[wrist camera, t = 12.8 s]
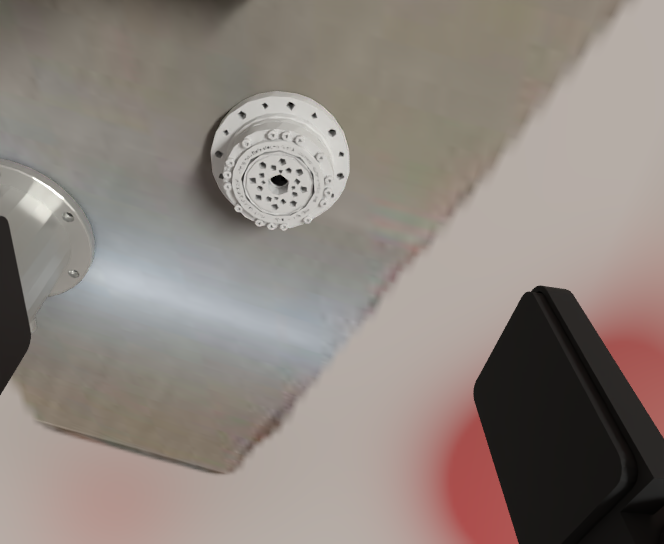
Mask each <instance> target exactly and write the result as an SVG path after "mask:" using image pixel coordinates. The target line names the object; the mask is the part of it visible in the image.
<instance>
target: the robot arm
mask: <svg viewBox="0 0 664 544" xmlns="http://www.w3.org/2000/svg"><path fill="white" fill-rule="evenodd" d="M94 253H95V239H94V234H93V231H92V228H91V225H90V223H89V221H88V219H87V217H86V215H85V213H84V212H83V210H82V209H81V208H80V206H79V205H78V204H77V202H76V201H75V200H74V199H73V198H72V197H71V196H70V195H69V194H68V193H67V192H66V191H65V190H64V189H63V188H62V187H61V186H59V185H58V184H56V183H55V182H54V181H52V180H51V179H49V178H48V177H47V176H45V175H43V174H41V173H39V172H37V171H35V170H33V169H31V168H30V167H27V166H24V165H21V164H19V163H16V162H13V161H9V160H5V159H0V395H1V393H2V391H3V390H4V388H5V386H6V385H7V383H8V381H9V380H10V378H11V377H12V375H13V373H14V372H15V370H16V368H17V367H18V365H19V363H20V362H21V360H22V358H23V357H24V355H25V353H26V352H27V350H28V347H29V344H30V339H31V333H33V332H34V331H35V330H36V329H37V325H36V319H35V315H36V314H37V312H38V311H39V309H40V308H41V306H42V304H43V303H44V301H45V300H46V298H47V297H51V296H54V295H58V294H61V293H64V292H66V291H68V290H69V289H71V288H73V287H74V286H76V285H77V284H78V283H79V282H80V281H81V280H82V279H83V277H84V276H85V275H86V273H87V272H88V270H89V268H90V266H91V264H92V262H93V258H94ZM474 401H475V404H476V407H477V411H478V414H479V417H480V420H481V423H482V427H483V430H484V433H485V436H486V440H487V443H488V446H489V449H490V452H491V455H492V459H493V462H494V465H495V469H496V472H497V475H498V478H499V481H500V485H501V488H502V491H503V494H504V497H505V501H506V503H507V507H508V510H509V513H510V517H511V520H512V523H513V526H514V529H515V533H516V536H517V539H518V542H519V544H664V438H663V437H662V435H661V434H660V432H659V430H658V429H657V427H656V426H655V424H654V422H653V421H652V419H651V418H650V416H649V414H648V413H647V412H646V410H645V408H644V407H643V405H642V403H641V402H640V400H639V399H638V397H637V395H636V394H635V392H634V391H633V389H632V387H631V386H630V384H629V383H628V381H627V380H626V378H625V376H624V375H623V373H622V372H621V370H620V369H619V367H618V365H617V364H616V362H615V360H614V359H613V358H612V356H611V354H610V353H609V351H608V349H607V348H606V346H605V345H604V343H603V341H602V340H601V338H600V337H599V335H598V334H597V332H596V331H595V329H594V327H593V326H592V324H591V322H590V321H589V319H588V318H587V316H586V314H585V313H584V311H583V310H582V308H581V306H580V305H579V303H578V302H577V300H576V299H575V297H574V295H573V294H572V293H571V292H570V291H569V290H566V289H560V288H553V287H546V286H537V287H535V288H534V289H533V290H532V291H531V292H526V293H525V294H524V295H523V296H522V298H521V300H520V301H519V303H518V305H517V307H516V309H515V311H514V312H513V314H512V316H511V318H510V320H509V322H508V323H507V326H506V327H505V329H504V331H503V333H502V335H501V336H500V338H499V340H498V342H497V344H496V346H495V348H494V349H493V351H492V353H491V355H490V357H489V358H488V361H487V362H486V364H485V366H484V368H483V370H482V371H481V374H480V375H479V377H478V379H477V380H476V383H475V386H474Z"/></svg>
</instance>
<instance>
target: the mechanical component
mask: <svg viewBox="0 0 664 544" xmlns="http://www.w3.org/2000/svg"><path fill="white" fill-rule="evenodd" d="M289 102H291V103H293V105H291V104H288V103H289ZM241 111H242V112H244V114H242V113H241ZM331 129H333V130H332V131H330V130H331ZM211 163H212V173H213V175H214V178H215V180H216V182H217V185H218V187H219V189H220V190H221V192H222V193H223V194H224V196H225V197H226V199H227V200H228V201H229V202H231V203H232V204H233V205H234V206H235V208H234V209H235V210H236V212H241V213H242V214H243V216H244V217H246V218H248V219H250V220H252V221H254V222H255V224H256V225H257V226H259V227H260V226H267V227H268V229H270V230H273V229H275V228H280V229H281V230H284V231H285V230H287V229H288V228H292V227H295V226H299V225H302V224H305V223H306V224H309V223H310V222H311V221H312V219H313V218H315V217H316V216H319V215H320V214H321V213H323V212H324V211H326V210H327V209H329V208H330V207H331V206H332V205H333V204H334V202H335V201H336V200H337V199H338V198H339V196H340V195H341V193H342V191H343V190H344V188H345V185H346V182H347V178H348V175H349V148H348V145H347V141H346V138H345V134H344V132H343V130H342V129H341V127H340V125H339V124H338V122H337V121H336V119H335V118H334V116H333V115H332V114H330V113H329V112H328V111H327V110H326V109H325V108H324V107H323V106H322V105H320V104H319V103H317V102H315V101H314V100H312V99H311V98H308V97H305V96H303V95H300V94H297V93H289V92H281V91H272V92H266V93H260V94H256V95H254V96H251V97H249V98H247V99H244V100H243V101H241V102H240V103H239V104H237V105H236V106H234V107H233V108H232V109H231V110H230V111H229V112H228V114H227V115H226V116H225V117H224V118H223V119H222V121H221V123H220V125H219V127H218V129H217V131H216V133H215V136H214V140H213V144H212V148H211ZM274 176H276V180H274V179H271V178H272V177H274ZM281 176H283V177H285V178H286V179H287V180H288V181H280V180H281Z"/></svg>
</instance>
